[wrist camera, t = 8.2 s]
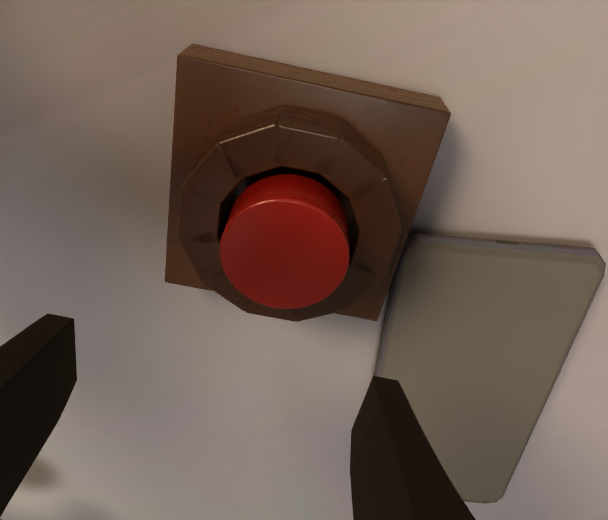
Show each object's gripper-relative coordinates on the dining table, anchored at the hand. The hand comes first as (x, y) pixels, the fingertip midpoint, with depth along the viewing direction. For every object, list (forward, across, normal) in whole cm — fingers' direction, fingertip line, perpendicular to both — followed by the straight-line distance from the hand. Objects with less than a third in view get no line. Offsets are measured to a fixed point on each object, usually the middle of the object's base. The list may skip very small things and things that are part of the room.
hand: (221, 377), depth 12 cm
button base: (+8, -1, -2) cm, 8 cm away
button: (+5, -1, -2) cm, 5 cm away
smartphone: (+8, -10, +6) cm, 14 cm away
